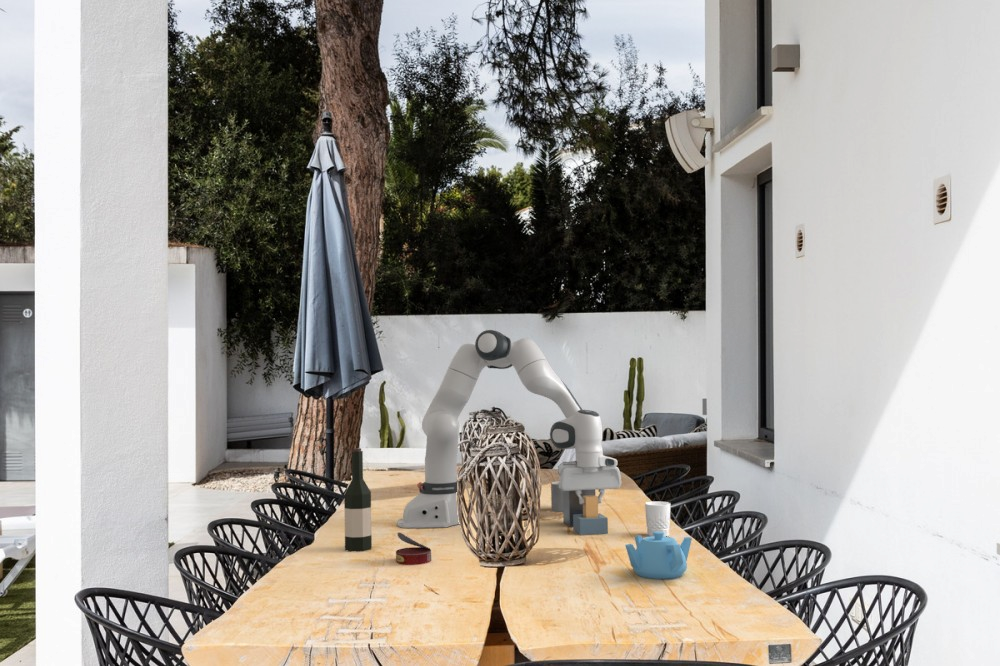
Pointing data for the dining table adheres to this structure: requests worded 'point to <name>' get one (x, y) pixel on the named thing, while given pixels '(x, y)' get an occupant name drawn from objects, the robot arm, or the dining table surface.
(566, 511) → the upper socket
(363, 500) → the wine bottle
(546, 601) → the dining table surface
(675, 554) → the teapot
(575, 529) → the lower socket
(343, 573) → the dining table surface
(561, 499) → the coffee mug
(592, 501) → the plug
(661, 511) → the white cup
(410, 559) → the canned food
